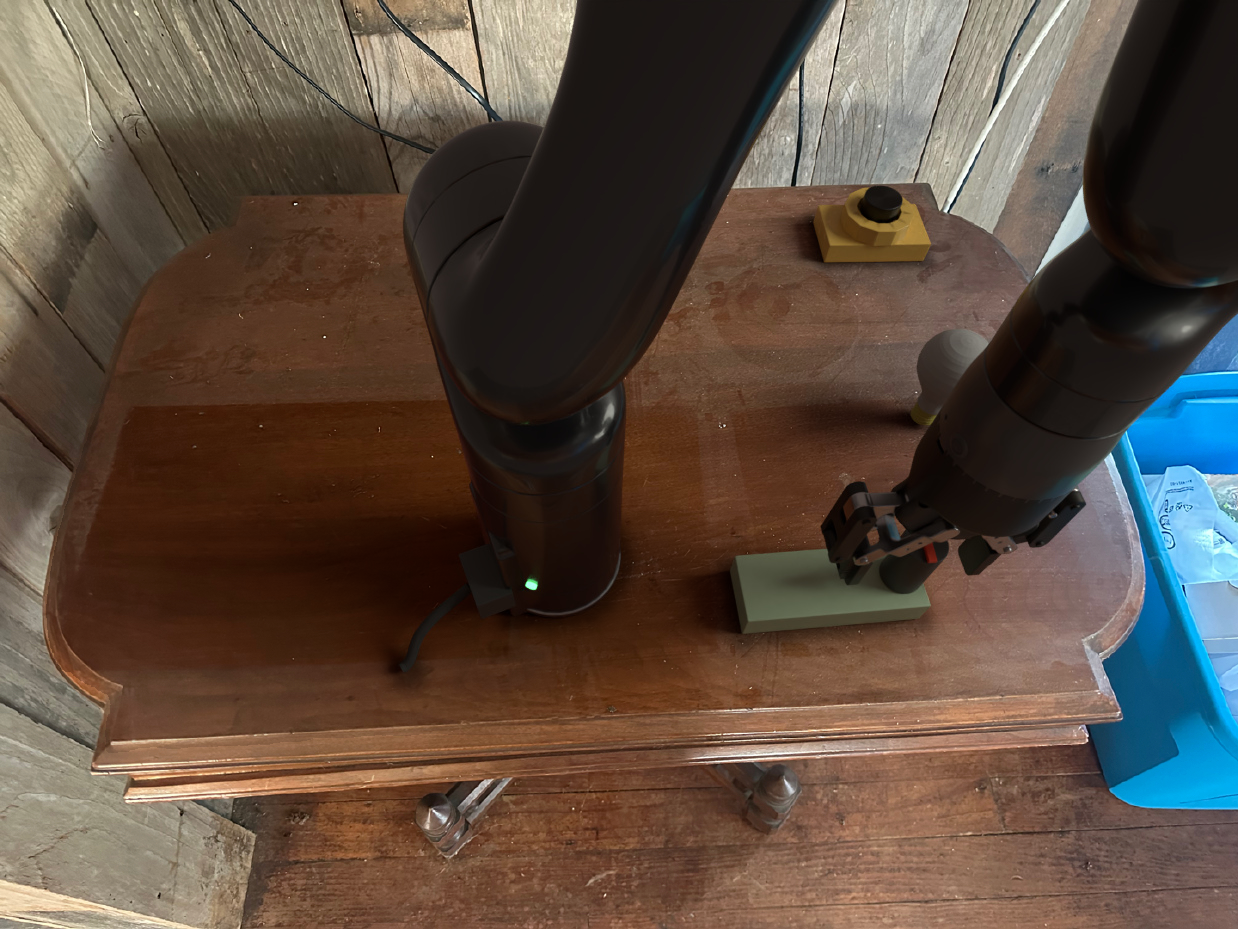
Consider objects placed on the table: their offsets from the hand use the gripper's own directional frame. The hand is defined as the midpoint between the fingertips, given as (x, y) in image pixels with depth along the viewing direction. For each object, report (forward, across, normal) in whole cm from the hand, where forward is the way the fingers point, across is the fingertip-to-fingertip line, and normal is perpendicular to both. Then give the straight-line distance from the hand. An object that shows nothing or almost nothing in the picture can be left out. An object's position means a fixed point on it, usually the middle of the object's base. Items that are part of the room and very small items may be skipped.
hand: (906, 567), depth 52 cm
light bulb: (+4, -7, -15) cm, 17 cm away
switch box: (+4, -9, -37) cm, 38 cm away
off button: (0, -9, -37) cm, 38 cm away
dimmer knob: (+1, 0, 0) cm, 1 cm away
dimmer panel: (+4, +5, 0) cm, 6 cm away
